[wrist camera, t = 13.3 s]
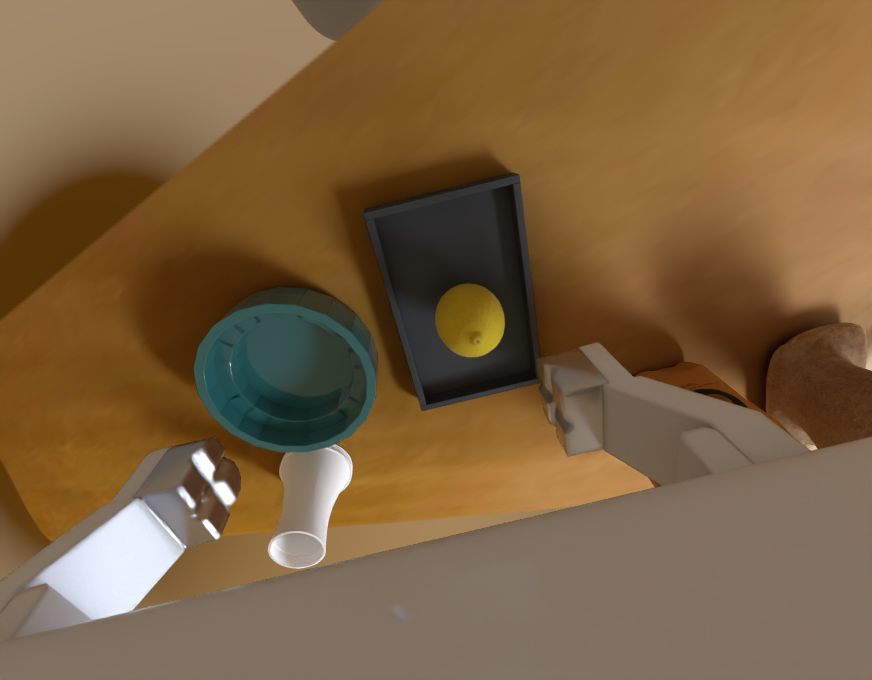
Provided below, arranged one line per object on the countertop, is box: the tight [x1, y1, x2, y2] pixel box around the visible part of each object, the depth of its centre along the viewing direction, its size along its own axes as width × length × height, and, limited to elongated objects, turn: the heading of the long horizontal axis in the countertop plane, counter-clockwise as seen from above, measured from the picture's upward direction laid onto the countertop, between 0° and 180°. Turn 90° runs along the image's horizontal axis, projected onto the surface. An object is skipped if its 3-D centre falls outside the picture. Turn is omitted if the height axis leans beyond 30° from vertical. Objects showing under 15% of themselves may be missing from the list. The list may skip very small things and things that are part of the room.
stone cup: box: [766, 323, 872, 449], centre depth 37 cm, size 15×12×15 cm
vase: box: [268, 444, 353, 568], centre depth 39 cm, size 8×8×10 cm
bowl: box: [193, 287, 378, 452], centre depth 35 cm, size 15×15×4 cm
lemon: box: [435, 283, 505, 357], centre depth 32 cm, size 6×6×8 cm
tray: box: [363, 173, 542, 411], centre depth 35 cm, size 19×12×2 cm, turn 12°
